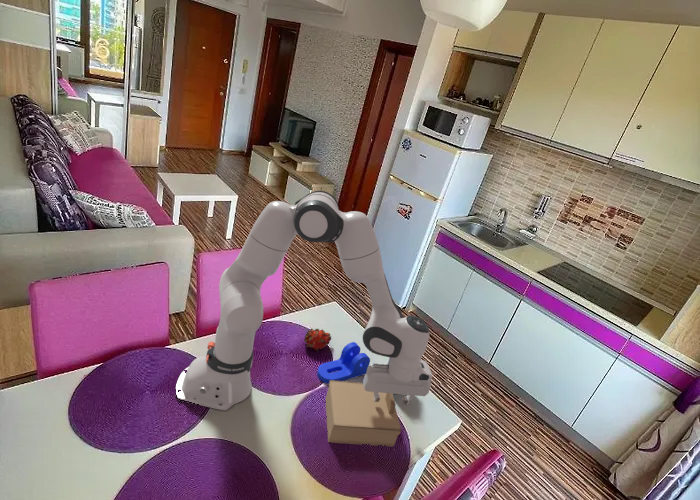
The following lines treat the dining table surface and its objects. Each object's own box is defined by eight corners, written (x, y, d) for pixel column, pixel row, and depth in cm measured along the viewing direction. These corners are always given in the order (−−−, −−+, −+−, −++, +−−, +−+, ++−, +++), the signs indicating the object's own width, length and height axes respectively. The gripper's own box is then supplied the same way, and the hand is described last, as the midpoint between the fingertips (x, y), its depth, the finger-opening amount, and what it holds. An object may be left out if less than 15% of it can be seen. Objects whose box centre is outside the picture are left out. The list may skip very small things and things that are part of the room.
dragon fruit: (298, 351, 152) (325, 350, 159) (309, 352, 146) (337, 351, 152) (298, 328, 154) (325, 328, 161) (310, 328, 147) (337, 328, 154)
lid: (332, 429, 114) (336, 416, 111) (328, 384, 129) (332, 371, 127) (399, 434, 117) (404, 421, 115) (387, 389, 133) (392, 377, 131)
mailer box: (328, 442, 117) (333, 425, 114) (325, 400, 131) (329, 384, 128) (393, 446, 121) (399, 429, 118) (383, 405, 135) (389, 389, 132)
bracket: (353, 359, 153) (359, 340, 149) (366, 374, 147) (372, 354, 144) (312, 370, 143) (317, 350, 139) (324, 386, 137) (329, 366, 133)
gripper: (370, 371, 113) (359, 407, 119) (437, 377, 117) (424, 411, 123) (367, 356, 119) (356, 391, 124) (431, 362, 123) (418, 396, 128)
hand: (390, 401), depth 124 cm, fingers open, 8 cm apart
